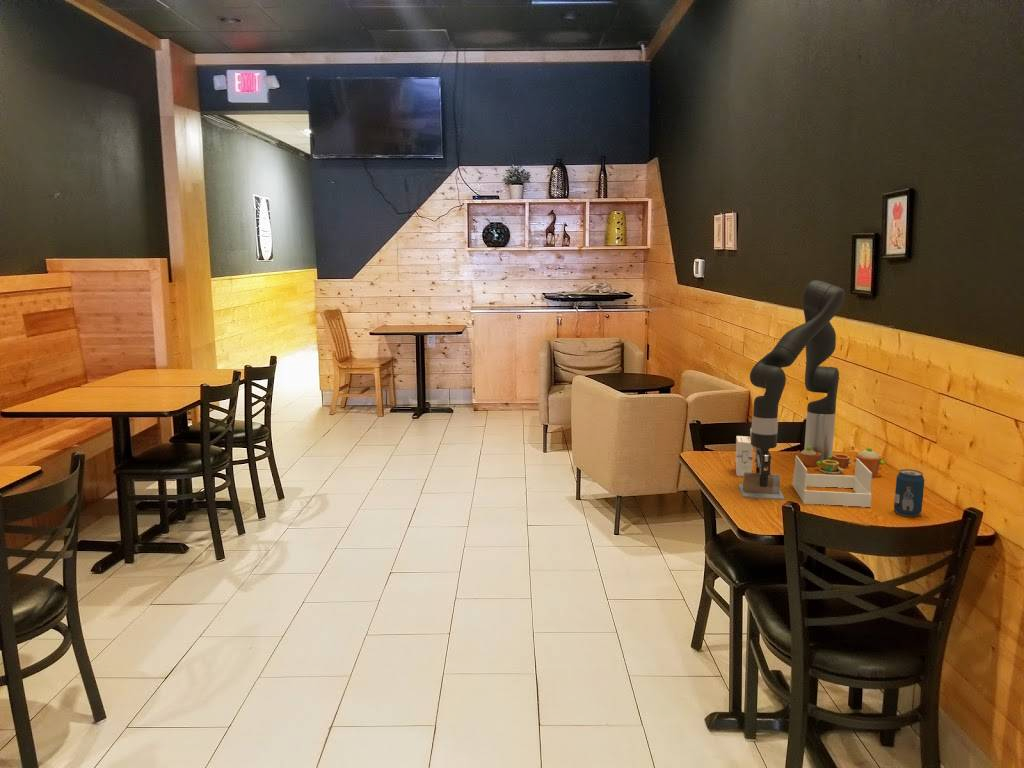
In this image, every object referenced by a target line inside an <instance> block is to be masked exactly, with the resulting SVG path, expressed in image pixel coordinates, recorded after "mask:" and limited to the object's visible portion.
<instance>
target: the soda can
mask: <svg viewBox="0 0 1024 768" xmlns="http://www.w3.org/2000/svg"><path fill="white" fill-rule="evenodd" d="M923 474H924V473H923V472H921V471H920V470H915V469H910V468H909V469H908V468H907V469H904V468H902V469H900V470H899V472H898V474H897V475H896V480H895V489H894V502H893V508H894V510H895V512H896V514H898V515H900V516H904V517H910V516H915V517H918V516H919V515H920V514H921V512H923V511H922V510H923V501H924V499H923V498H924V491H925V481H926V480H925V478H924V476H923Z"/></svg>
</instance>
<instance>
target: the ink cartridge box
mask: <svg viewBox="0 0 1024 768" xmlns="http://www.w3.org/2000/svg"><path fill="white" fill-rule="evenodd" d="M751 429H752V427H750V428H749V432H750V433H751ZM735 444H736V445H735V462H734V470H735V474H736V477H744V472H750V473H753V463H754V462H753V459H754V457H753V456H754V446H752V445H751V436H745V435H744V436H743V435H736V438H735Z"/></svg>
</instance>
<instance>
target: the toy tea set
mask: <svg viewBox="0 0 1024 768" xmlns="http://www.w3.org/2000/svg"><path fill="white" fill-rule="evenodd" d="M800 454H801V455H802V460H803V465H804V466H806V465H807V466H806V467H812V466H815V467H818V466H822V467H820V468H819V471H820V472H821V473H823V474H827V473H828V474H827V475H840V474H841V473H844V472H845V469H847V468H846V467H849V464H852V460H851V456H849V455H847V454H842V453H832V456H829V458H828V459H829V460H823V461H822V462H821V461H819V460H820V456H821V454H820V453H819V452H815V451H813V450H811V447H810V446H807V449H806V450H804V449H803V450H801V452H800ZM856 458H858V459H859V460H860V461H861V462H862V463H863V464H864V465H865V466H866V467H867V468H868V469H869V470H870V471H871V472H872V478H874V477H875V476H876V477H877V476H878V473H879V469H880V466H884V465H885V463H886V462H885V460H882V457H881V456H880V455H879V454H878V453H877V452H876V451H874V450H873V448H872V447H870V446H868V447H867V448H866V449H865V450H862V451H860V452H859V453H857V454H856V457H855V458H854V459H853V462H854V463H856Z"/></svg>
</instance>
